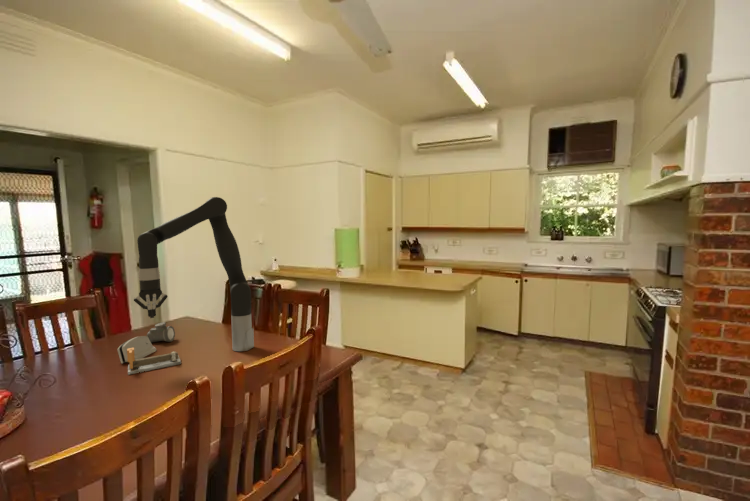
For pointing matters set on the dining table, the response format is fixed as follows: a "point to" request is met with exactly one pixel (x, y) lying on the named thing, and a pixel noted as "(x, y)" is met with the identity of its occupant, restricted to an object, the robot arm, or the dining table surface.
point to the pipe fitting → (161, 333)
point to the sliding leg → (130, 356)
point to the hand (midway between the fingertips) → (152, 317)
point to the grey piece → (154, 362)
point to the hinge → (136, 348)
